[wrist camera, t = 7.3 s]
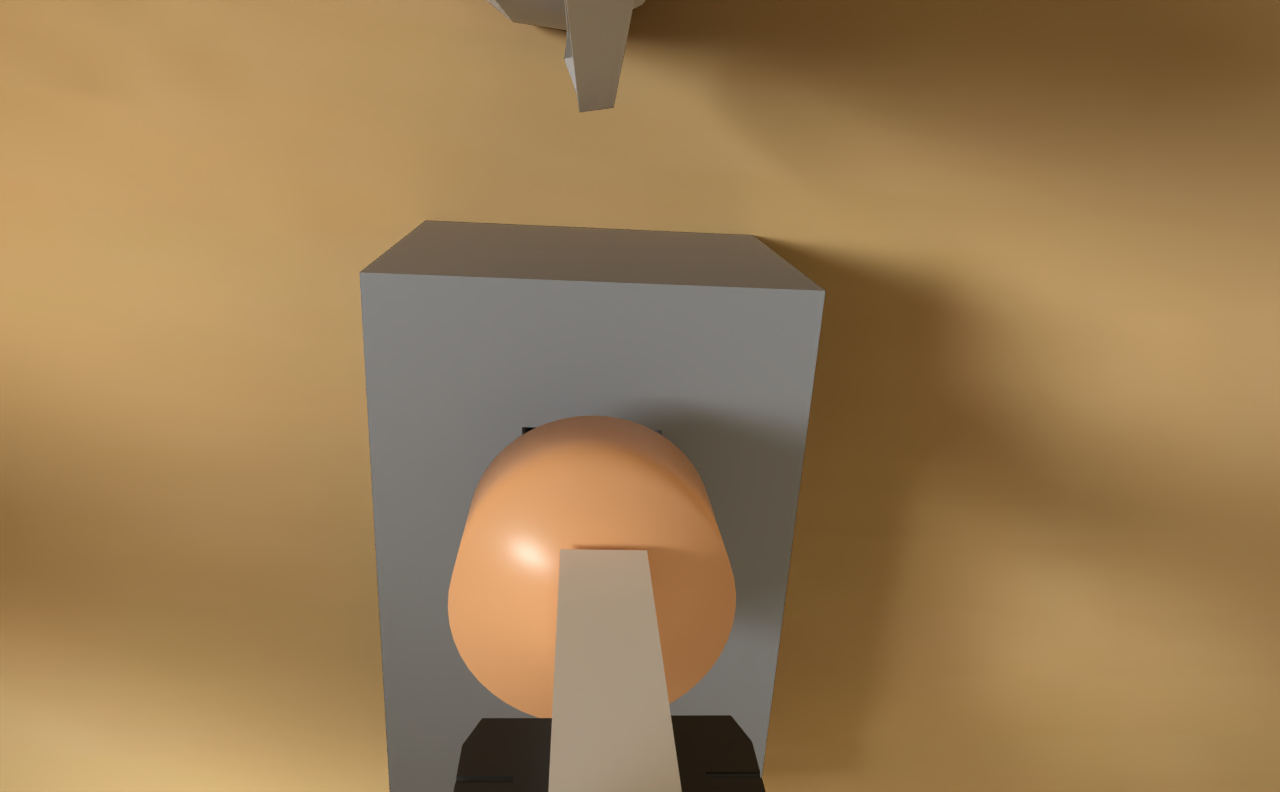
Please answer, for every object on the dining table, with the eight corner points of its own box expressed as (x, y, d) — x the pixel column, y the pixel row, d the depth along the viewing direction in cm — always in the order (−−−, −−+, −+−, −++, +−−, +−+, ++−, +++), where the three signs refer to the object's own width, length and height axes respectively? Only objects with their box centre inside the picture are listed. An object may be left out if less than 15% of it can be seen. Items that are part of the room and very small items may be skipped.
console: (442, 752, 32) (399, 956, 24) (425, 220, 25) (359, 272, 17) (707, 750, 32) (746, 946, 25) (759, 235, 26) (834, 291, 18)
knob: (501, 477, 26) (450, 726, 16) (500, 315, 24) (443, 475, 14) (666, 480, 26) (723, 724, 16) (677, 321, 25) (749, 480, 14)
